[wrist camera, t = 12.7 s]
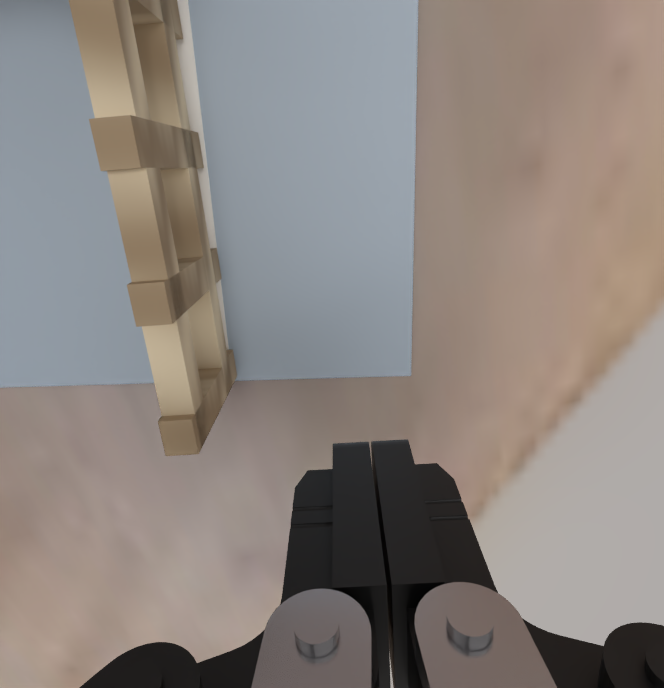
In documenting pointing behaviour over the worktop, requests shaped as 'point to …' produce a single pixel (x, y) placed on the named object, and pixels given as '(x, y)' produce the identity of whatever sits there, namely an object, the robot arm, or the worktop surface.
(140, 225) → the hinged fence panel
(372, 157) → the card
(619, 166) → the worktop surface
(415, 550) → the robot arm
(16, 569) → the worktop surface
